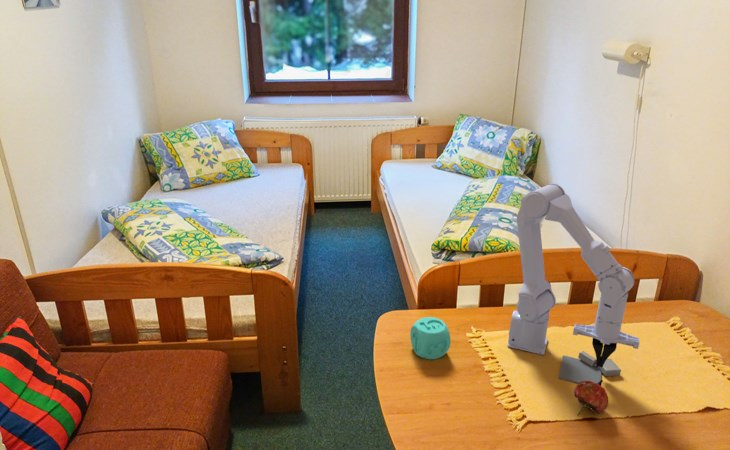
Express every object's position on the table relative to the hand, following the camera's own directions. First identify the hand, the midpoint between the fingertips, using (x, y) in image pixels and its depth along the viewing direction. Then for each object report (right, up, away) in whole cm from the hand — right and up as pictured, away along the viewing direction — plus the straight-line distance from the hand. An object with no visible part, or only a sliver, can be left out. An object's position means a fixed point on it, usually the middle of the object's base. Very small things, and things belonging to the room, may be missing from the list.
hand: (599, 364), depth 136 cm
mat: (-4, -3, +3) cm, 5 cm away
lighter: (+2, -2, 0) cm, 3 cm away
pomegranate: (-7, -8, -10) cm, 14 cm away
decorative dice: (-40, +1, +11) cm, 42 cm away
